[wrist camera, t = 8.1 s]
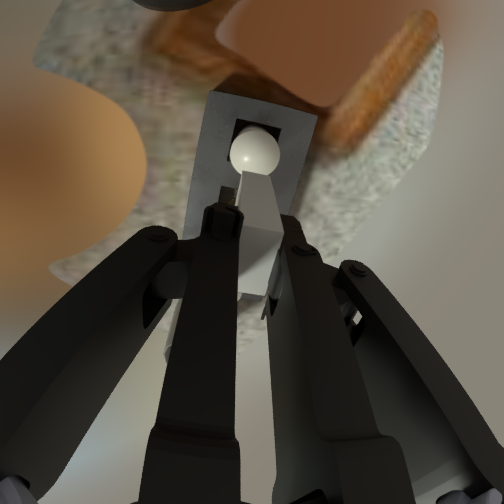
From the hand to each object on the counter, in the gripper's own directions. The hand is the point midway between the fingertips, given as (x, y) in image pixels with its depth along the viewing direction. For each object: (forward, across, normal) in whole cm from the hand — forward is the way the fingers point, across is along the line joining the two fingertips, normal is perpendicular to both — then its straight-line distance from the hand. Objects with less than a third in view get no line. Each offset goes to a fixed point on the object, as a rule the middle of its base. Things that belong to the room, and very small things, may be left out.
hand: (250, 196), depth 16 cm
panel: (+21, 0, -8) cm, 22 cm away
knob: (+20, +1, 0) cm, 20 cm away
